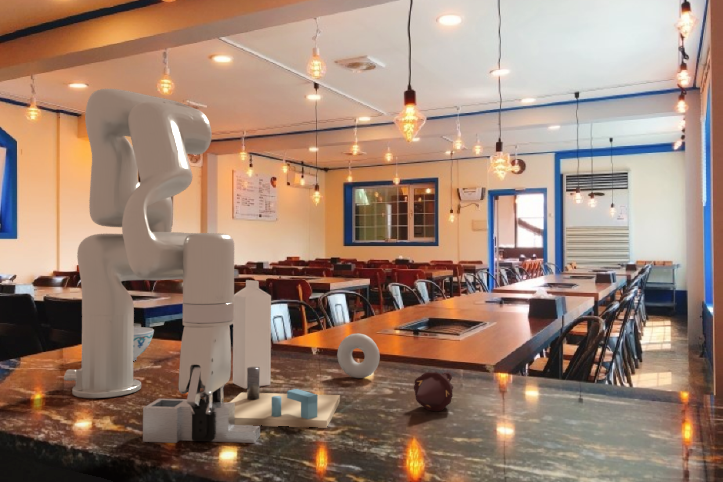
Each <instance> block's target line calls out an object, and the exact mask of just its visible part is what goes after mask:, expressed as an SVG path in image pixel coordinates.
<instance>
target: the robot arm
mask: <svg viewBox="0 0 723 482" xmlns="http://www.w3.org/2000/svg"><path fill="white" fill-rule="evenodd" d="M84 119H85V120H84V121H85V128H86V133H87V139H88V142H89V145H90V151H91V168H90V169H91V170H90V172H91V173H90V184H89V185H90V186H89V187H90V188H89V200H88V201H89V207H88V208H89V215H90V219H91V220H92V222H93V223H94V224H97V225H99V226H102V227H109V228H121V231H122V233H97V234H92V235H88V236H87V237H85V238H83V240H82V241H81V242H80V243H79V245H78V247H77V255H76V256H77V257H76V258H77V264H78V265H77V266H78V270H79V277H80V285H81V316H82V317H81V367H80V368H79V369H67V370H66V371H65V373H64V376H63V380H64V381H69V382H72V381H74V382H75V386H73V387H72V391H71V393H72V395H73V396H75V397H78V398H85V399H104V398H115V397H121V396H126V395H129V394H132V393H135V392H138V391H139V390H140V389H141V388H142V382H141V381H140V380H138V379H135V378H134V362H133V337H134V327H135V326H134V322H135V321H134V320H135V319H134V317H135V314H134V313H135V312H134V311H135V309H134V308H135V306H134V305H135V304H134V300H133V298H132V296H131V294H130V293H129V291H128V289H126V287H125V286H124V285H123V283H122V282H124V281H144V280H146V281H165V280H182V326H184V327H183V329H182V330H183V331H182V336H181V343H180V354H179V371H178V391H179V393H180V394H181V395H185V394H187V396H186V397H187V398H186V399H187V403H188V404H189V405H191V414H192V440H193V441H194V442H213V441H212V440H213V439H214V413H212V402H224V391H225V385H226V384H227V383H228V382H229V381H230V378H231V373H232V344H231V343H232V342H231V329H230V326H232V325H233V324H234V295H235V242H234V238H233V237H232V236H231V235H230V234H227V233H220V232H219V233H217V232H216V233H214V232H197V233H196V232H182V231H181V232H178V231H177V232H174V231H172V229H173V228H172V227H173V215H174V208H173V207H174V206H173V205H174V204H173V200H172V197H174V196H177V195H179V194H181V193H182V192H184V191H185V190H187V189H188V188H189V187H190V186H191V184H192V181H193V172H192V168H191V165H190V161H189V157H188V155H194V156H195V155H196V156H197V155H202V154H204V153H205V152H207V150H208V149H209V147H210V145H211V142H212V137H213V134H212V133H213V132H212V127H211V124H210V123H211V122H210V121H209V118H208V117H207V115H205V113H204V112H203V111H201V110H200V109H198V108H194V107H192V106H190V105H187V104H185V103H183V102H181V101H180V102H179V101H177V100H173V99H168V98H164V97H158V96H153V95H149V94H144V93H139V92H135V91H130V90H125V89H124V90H123V89H117V88H101V89H97V90H95V91H93V93H91V95H90V96H89V98H88V99H87V101H86V107H85V118H84ZM127 137H130V139H131V142H130V141H129V140H128V138H127ZM138 175H139V179H138ZM139 180H140V181H139ZM201 389H203V391H201ZM193 441H192V442H193Z"/></svg>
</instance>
